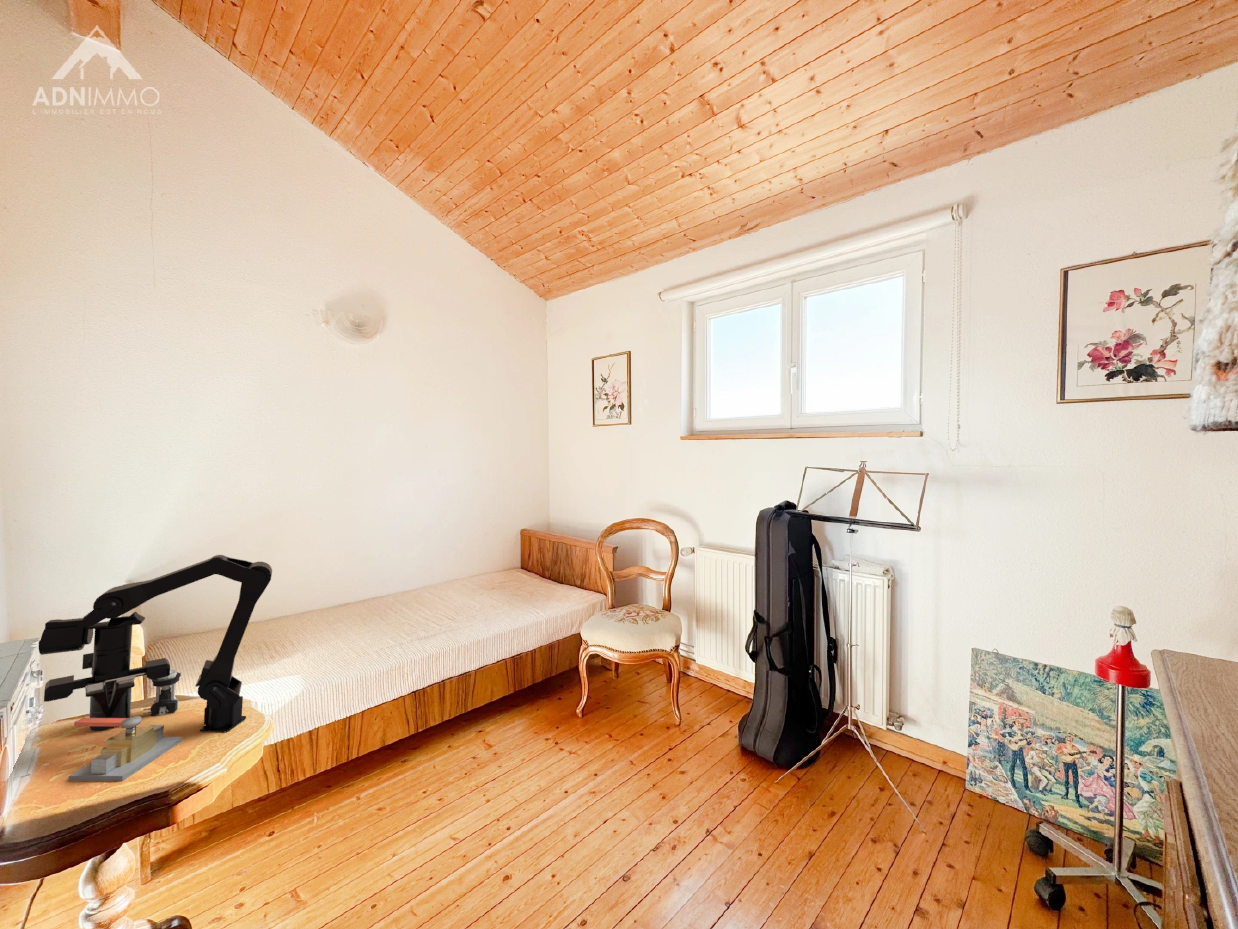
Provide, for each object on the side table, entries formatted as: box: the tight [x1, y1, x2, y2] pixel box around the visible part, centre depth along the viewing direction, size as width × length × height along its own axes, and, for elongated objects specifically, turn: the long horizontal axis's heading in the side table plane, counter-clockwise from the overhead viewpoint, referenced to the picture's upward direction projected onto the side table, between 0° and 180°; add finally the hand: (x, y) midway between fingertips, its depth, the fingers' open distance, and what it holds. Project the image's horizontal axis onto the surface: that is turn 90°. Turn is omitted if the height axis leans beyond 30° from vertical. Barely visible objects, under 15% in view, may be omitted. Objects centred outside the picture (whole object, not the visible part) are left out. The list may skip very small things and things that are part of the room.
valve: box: [90, 724, 165, 774], centre depth 102 cm, size 5×13×6 cm, turn 4°
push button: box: [142, 669, 182, 716], centre depth 121 cm, size 7×5×10 cm
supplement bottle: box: [88, 681, 132, 732], centre depth 115 cm, size 7×7×12 cm
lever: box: [73, 715, 142, 730], centre depth 102 cm, size 12×3×1 cm, turn 94°
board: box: [68, 736, 183, 782], centre depth 102 cm, size 10×14×1 cm
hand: (108, 717), depth 105 cm, fingers closed
